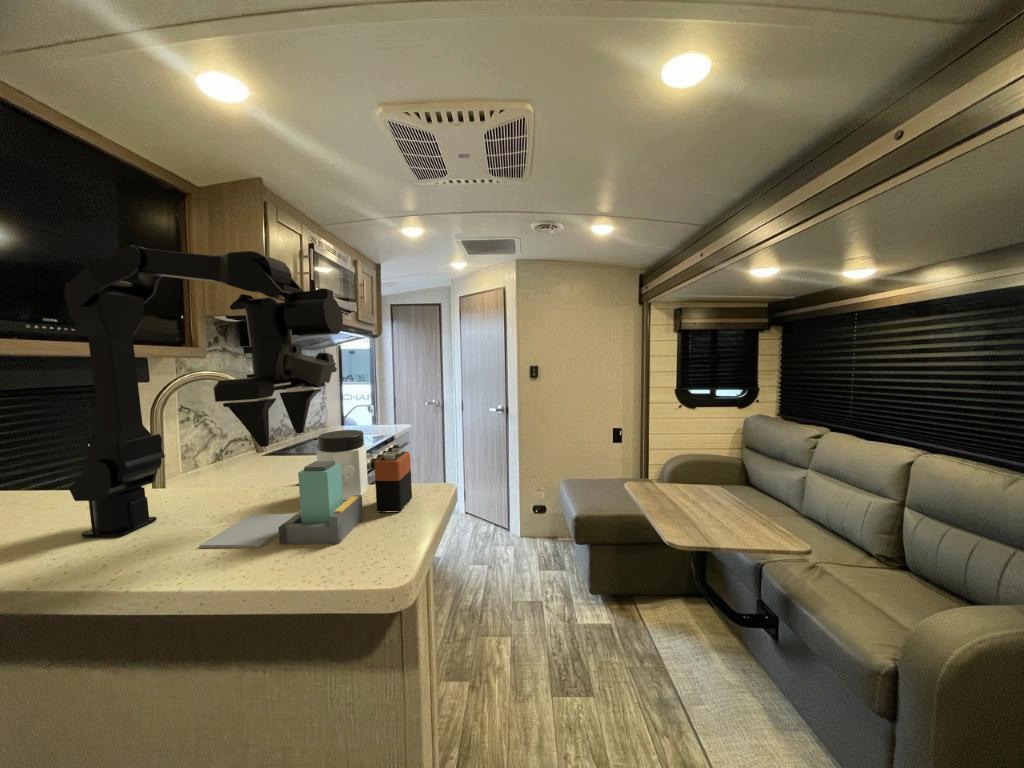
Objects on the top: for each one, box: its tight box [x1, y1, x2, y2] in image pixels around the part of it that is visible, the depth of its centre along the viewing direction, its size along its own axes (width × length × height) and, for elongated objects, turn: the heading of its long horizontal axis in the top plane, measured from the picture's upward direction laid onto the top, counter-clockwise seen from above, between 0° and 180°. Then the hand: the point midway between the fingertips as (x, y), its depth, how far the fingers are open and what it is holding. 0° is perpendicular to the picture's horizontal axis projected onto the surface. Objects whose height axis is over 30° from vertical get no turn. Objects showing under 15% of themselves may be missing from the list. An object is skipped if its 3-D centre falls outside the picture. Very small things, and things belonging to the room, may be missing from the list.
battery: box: [373, 447, 413, 512], centre depth 73 cm, size 4×7×10 cm, turn 176°
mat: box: [199, 513, 297, 549], centre depth 64 cm, size 9×11×1 cm
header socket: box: [278, 495, 364, 545], centre depth 63 cm, size 9×9×4 cm
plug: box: [297, 460, 344, 524], centre depth 63 cm, size 4×4×11 cm
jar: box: [316, 429, 369, 502], centre depth 79 cm, size 9×8×12 cm
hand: (283, 439), depth 63 cm, fingers open, 9 cm apart
